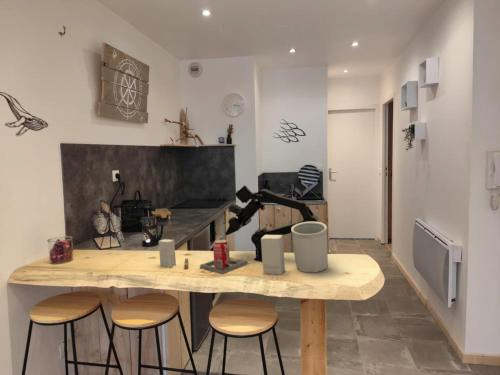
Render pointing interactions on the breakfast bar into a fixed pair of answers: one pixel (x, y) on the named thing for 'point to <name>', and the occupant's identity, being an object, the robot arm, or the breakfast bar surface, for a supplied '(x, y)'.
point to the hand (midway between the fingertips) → (229, 232)
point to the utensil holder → (310, 246)
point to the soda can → (221, 254)
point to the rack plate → (234, 265)
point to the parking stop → (186, 263)
